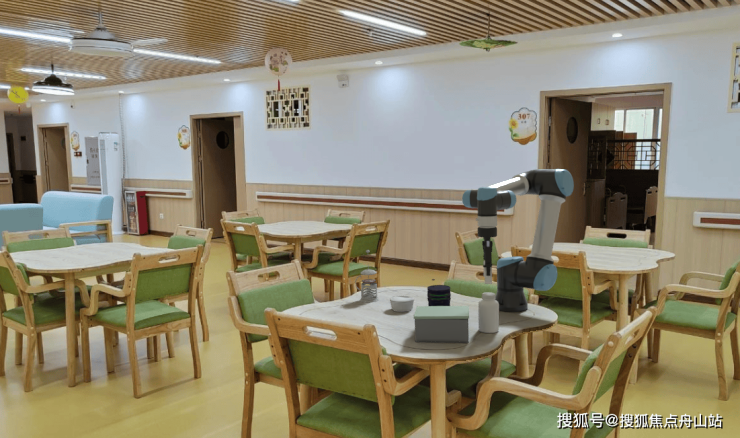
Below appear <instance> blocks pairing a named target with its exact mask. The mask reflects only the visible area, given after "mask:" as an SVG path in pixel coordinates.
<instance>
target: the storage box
mask: <svg viewBox="0 0 740 438" xmlns="http://www.w3.org/2000/svg"><path fill="white" fill-rule="evenodd" d="M414 334H415V335H414V339H415V340H414V341H415V343H436V344H437V343H442V344H443V343H444V344H445V343H446V344H447V343H448V344H449V343H450V344H451V343H452V344H469V341H470V340H469V339H470V338H469V336H470V335H469V334H470V333H469V319H414Z"/></svg>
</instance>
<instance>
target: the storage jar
mask: <svg viewBox="0 0 740 438" xmlns="http://www.w3.org/2000/svg"><path fill="white" fill-rule="evenodd" d="M431 281H435V279H434V278H432V279H431ZM426 289H427V292H426V293H427V294H426V296H427V298H426V300H427V301H428V302H427V303H428V304H427V306H451V300H452V294H451V286H449V285H446V284H445V285H444V284H433V285H429V286H427V288H426Z"/></svg>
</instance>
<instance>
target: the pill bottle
mask: <svg viewBox="0 0 740 438" xmlns="http://www.w3.org/2000/svg"><path fill="white" fill-rule="evenodd" d="M495 296H496V293H495V292H491V291H490V292H488V291H487V292H485V291H484V292H483V293H481V299H480V300H479V301H478V304H477V305H478V330H479V332H481V333H487V334H495V333H497V332H499V327H500V319H499V315H500V310H499V303H498V301H496V300H495Z"/></svg>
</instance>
